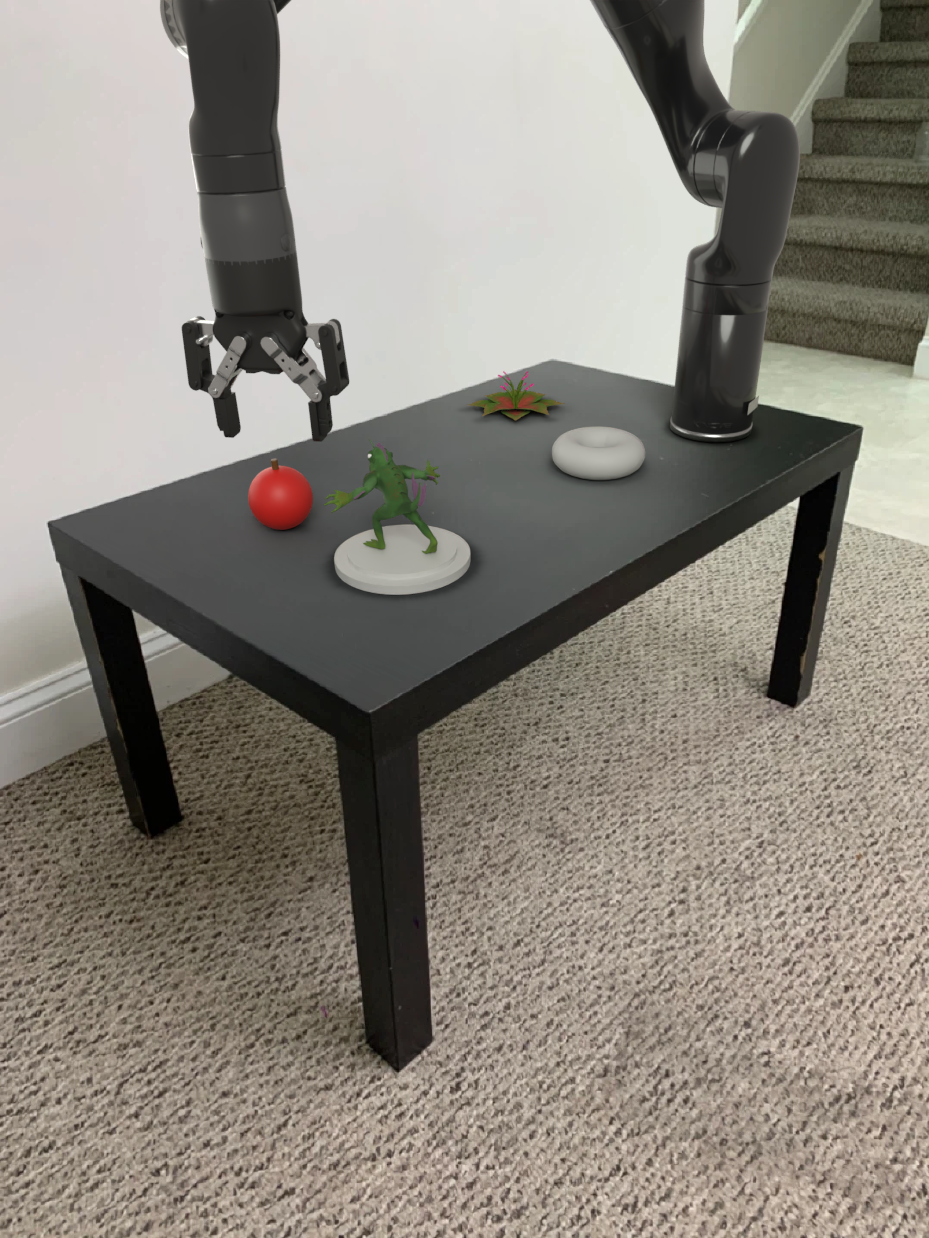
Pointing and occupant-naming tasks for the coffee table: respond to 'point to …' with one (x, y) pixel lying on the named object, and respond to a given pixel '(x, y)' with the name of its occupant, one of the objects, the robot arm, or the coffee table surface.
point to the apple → (280, 497)
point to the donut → (598, 453)
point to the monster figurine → (398, 536)
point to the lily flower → (515, 401)
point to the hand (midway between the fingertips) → (276, 437)
